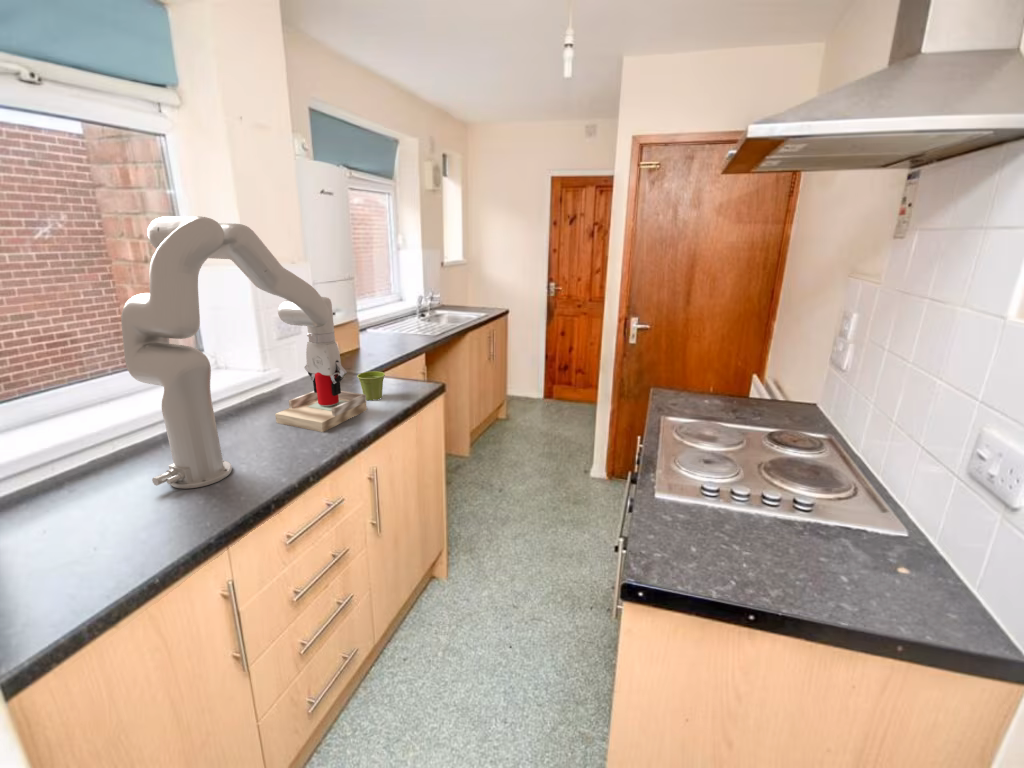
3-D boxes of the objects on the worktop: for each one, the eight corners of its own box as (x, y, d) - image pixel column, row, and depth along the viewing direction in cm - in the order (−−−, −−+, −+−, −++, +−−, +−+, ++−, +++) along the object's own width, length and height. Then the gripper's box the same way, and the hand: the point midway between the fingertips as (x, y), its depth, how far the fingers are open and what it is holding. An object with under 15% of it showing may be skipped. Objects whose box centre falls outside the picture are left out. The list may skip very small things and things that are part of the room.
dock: (322, 432, 138) (320, 414, 137) (276, 422, 145) (274, 406, 143) (366, 410, 156) (365, 394, 155) (323, 402, 163) (322, 387, 161)
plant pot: (353, 400, 165) (351, 377, 162) (369, 392, 174) (367, 370, 171) (377, 403, 162) (375, 379, 160) (391, 395, 171) (390, 372, 169)
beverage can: (342, 401, 155) (338, 366, 151) (333, 408, 149) (329, 371, 145) (324, 400, 155) (320, 365, 152) (314, 407, 149) (310, 370, 146)
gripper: (290, 337, 145) (297, 392, 151) (335, 342, 139) (341, 400, 145) (309, 333, 152) (315, 386, 157) (352, 338, 146) (357, 393, 151)
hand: (327, 392), depth 151 cm, fingers open, 6 cm apart
